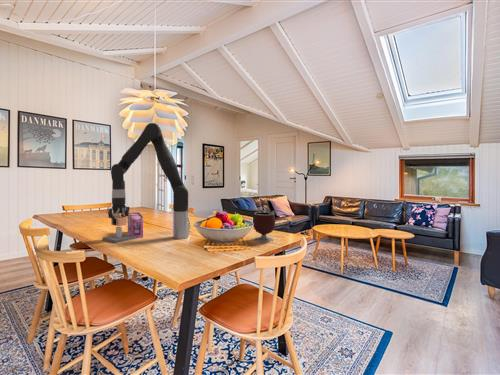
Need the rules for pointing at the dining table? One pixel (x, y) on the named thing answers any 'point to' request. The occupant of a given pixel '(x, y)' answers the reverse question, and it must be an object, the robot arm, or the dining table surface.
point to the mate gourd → (264, 225)
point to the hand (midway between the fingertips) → (118, 224)
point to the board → (116, 240)
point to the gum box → (135, 225)
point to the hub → (120, 221)
